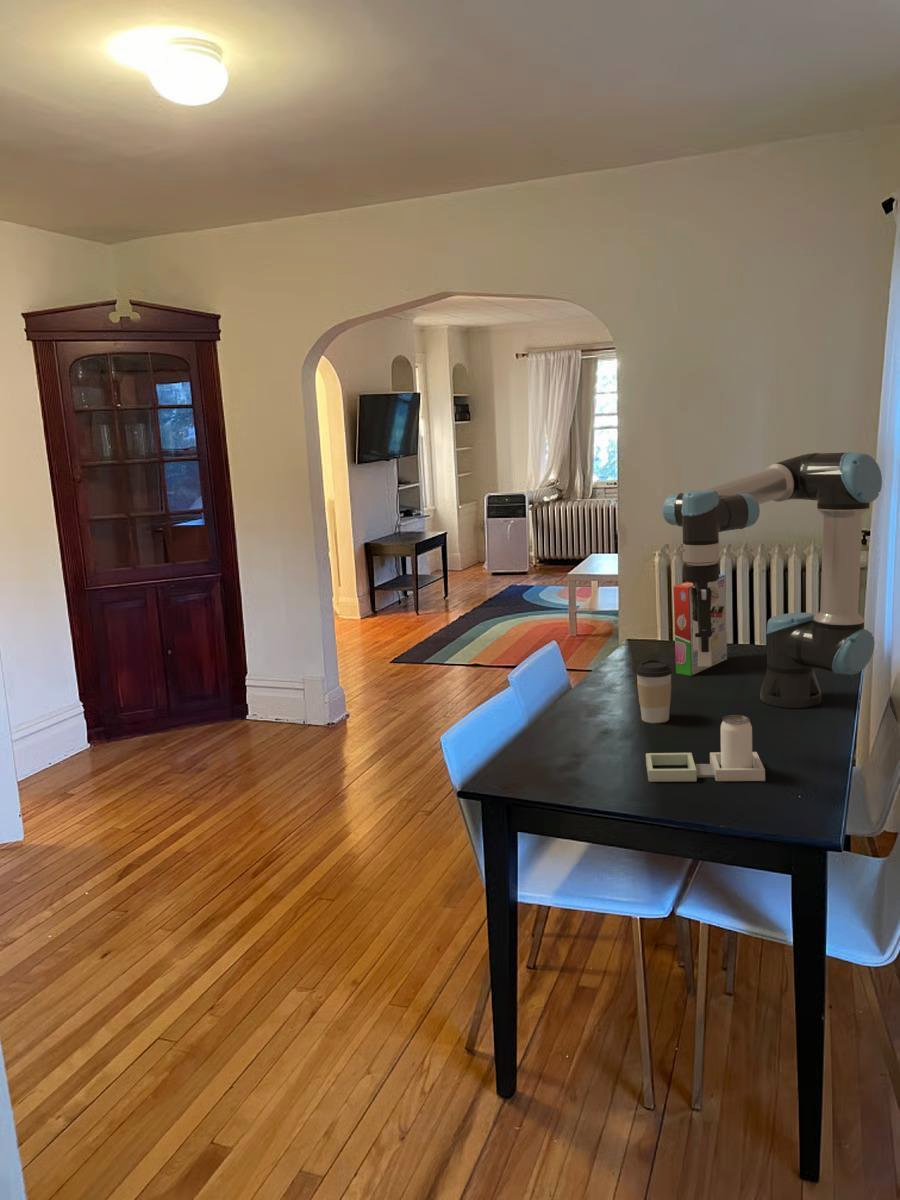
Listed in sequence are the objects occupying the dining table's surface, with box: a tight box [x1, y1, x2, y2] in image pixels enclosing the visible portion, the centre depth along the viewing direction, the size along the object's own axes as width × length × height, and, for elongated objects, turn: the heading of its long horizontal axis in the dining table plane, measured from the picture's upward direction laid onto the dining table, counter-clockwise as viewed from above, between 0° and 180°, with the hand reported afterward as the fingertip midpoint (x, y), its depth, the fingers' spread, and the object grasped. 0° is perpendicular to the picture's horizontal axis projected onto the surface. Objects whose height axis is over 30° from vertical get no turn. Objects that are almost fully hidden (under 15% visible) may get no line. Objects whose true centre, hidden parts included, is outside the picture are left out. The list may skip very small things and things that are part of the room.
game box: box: [672, 573, 728, 677], centre depth 266 cm, size 21×6×27 cm, turn 133°
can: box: [720, 714, 753, 768], centre depth 189 cm, size 6×6×12 cm
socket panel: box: [645, 751, 766, 783], centre depth 192 cm, size 24×10×2 cm, turn 81°
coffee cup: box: [635, 658, 673, 724], centre depth 225 cm, size 9×9×15 cm
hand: (702, 657), depth 193 cm, fingers open, 13 cm apart
